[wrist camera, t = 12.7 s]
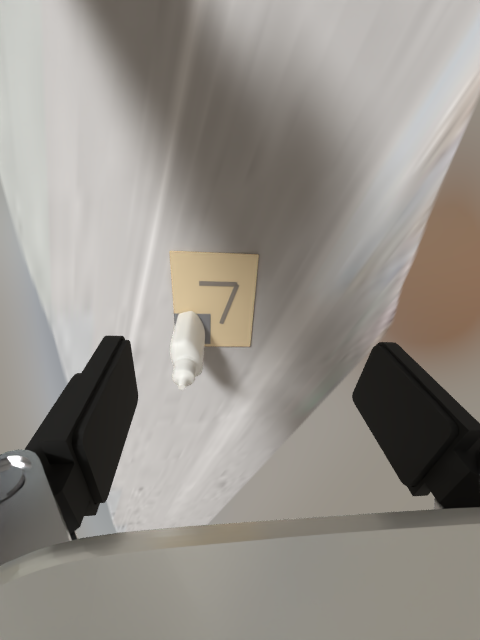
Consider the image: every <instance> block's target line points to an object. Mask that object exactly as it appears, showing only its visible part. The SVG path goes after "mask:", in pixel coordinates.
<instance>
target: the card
mask: <svg viewBox="0 0 480 640" xmlns="http://www.w3.org/2000/svg"><path fill="white" fill-rule="evenodd" d="M258 257H259V254H238V253H212V252H186V251H170V265H171V278H172V292H173V306H174V321H175V324H176V321H177V317H178V315H179V314H180V313H183V312H187V311H193V312H195V313H196V314H197V315H198V317H199V318H200V320H201V321H202V323H203V326H204V330H205V345H204V346H240V347H250V342H251V332H252V321H253V310H254V300H255V289H256V279H257V268H258Z"/></svg>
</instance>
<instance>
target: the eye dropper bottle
mask: <svg viewBox="0 0 480 640" xmlns="http://www.w3.org/2000/svg"><path fill="white" fill-rule="evenodd" d="M204 345H205V330H204V326H203V323H202V321H201V320H200V318H199V317H198V315H197V314H196V313H195V312H193V311H187V312H183V313H180V314H179V315H178V317H177V321H176V324H175V328H174V332H173V335H172V339H171V344H170V356H171V360H172V363H173V366H174V370H173V374H172V380H173V382H174V383H175V384H177V385H178V388H179V389H180V390H184V389H185V388H186V386H189V385H191V384H192V383H193V382H194V380H195V377H196V376H198V375H200V374H201V372H202V368H203V358H204Z"/></svg>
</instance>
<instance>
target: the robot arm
mask: <svg viewBox="0 0 480 640" xmlns="http://www.w3.org/2000/svg"><path fill="white" fill-rule="evenodd" d="M352 398H353V401H354V403H355V405H356V407H357V408H358V410H359V412H360V414H361V415H362V417H363V419H364V420H365V422H366V424H367V425H368V427H369V428H370V430H371V432H372V433H373V435H374V437H375V439H376V440H377V442H378V444H379V445H380V447H381V449H382V450H383V452H384V454H385V455H386V457H387V459H388V460H389V462H390V464H391V465H392V467H393V469H394V470H395V472H396V474H397V475H398V477H399V479H400V480H401V482H402V483H403V484H404V485H406V486H407V487H408V489H409V491H410V492H411V494H412V495H413V496H425V495H428V494H429V493H430V492H432V494H433V495H434V497H435V503H434V510H421V511H405V512H404V511H403V512H387V513H372V514H358V515H343V516H328V517H313V518H299V519H284V520H270V521H256V522H243V523H229V524H216V525H202V526H188V527H176V528H165V529H155V530H144V531H133V532H122V533H114V534H107V535H100V536H93V537H86V538H81V539H79V538H78V536H77V533H76V531H75V530H76V529H77V528H79V527H80V525H81V522H82V520H83V517H84V516H92V515H96V513H97V510H98V507H99V504H100V503H104V502H105V501H106V500H107V498H108V495H109V492H110V488H111V485H112V482H113V479H114V476H115V473H116V469H117V466H118V463H119V460H120V457H121V454H122V450H123V447H124V444H125V441H126V438H127V434H128V431H129V428H130V425H131V422H132V419H133V415H134V412H135V409H136V406H137V402H138V390H137V384H136V377H135V371H134V364H133V357H132V351H131V344H130V341H129V340H125V338H124V337H123V336H105V337H104V338H103V340H102V341H101V343H100V344H99V346H98V348H97V349H96V351H95V352H94V354H93V356H92V357H91V359H90V360H89V362H88V363H87V365H86V367H85V368H84V370H83V371H82V373H77V374H75V375H74V376H73V377H72V378H71V380H70V381H69V383H68V384H67V386H66V387H65V389H64V390H63V392H62V394H61V395H60V397H59V398H58V400H57V401H56V403H55V404H54V406H53V407H52V409H51V410H50V412H49V413H48V415H47V416H46V418H45V419H44V421H43V422H42V424H41V425H40V427H39V428H38V430H37V432H36V433H35V434H34V436H33V437H32V439H31V441H30V442H29V444H28V445H27V447H26V448H25V450H14V451H8V452H5V453H3V454H0V640H480V423H479V422H478V421H477V420H476V419H474V418H473V417H472V416H471V415H470V414H469V413H468V412H467V411H466V410H465V409H464V408H463V407H462V406H461V405H460V404H459V403H458V402H457V401H456V400H455V399H454V398H453V397H452V396H451V395H449V393H448V392H447V391H445V390H444V389H443V388H442V387H441V386H440V385H439V384H438V383H437V382H436V381H435V380H434V379H433V378H432V377H431V376H430V375H429V374H428V373H427V372H426V371H425V370H424V369H423V368H422V367H421V366H419V364H418V363H416V362H415V361H414V360H413V359H412V358H411V357H410V356H409V355H408V354H407V353H406V352H405V351H404V350H403V349H402V348H401V347H400V346H399V345H398V344H396V343H392V342H380V343H378V344H377V345H376V346H374V347H373V349H372V351H371V353H370V355H369V358H368V360H367V362H366V364H365V367H364V369H363V372H362V374H361V376H360V378H359V380H358V383H357V385H356V387H355V389H354V392H353V395H352Z"/></svg>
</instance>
